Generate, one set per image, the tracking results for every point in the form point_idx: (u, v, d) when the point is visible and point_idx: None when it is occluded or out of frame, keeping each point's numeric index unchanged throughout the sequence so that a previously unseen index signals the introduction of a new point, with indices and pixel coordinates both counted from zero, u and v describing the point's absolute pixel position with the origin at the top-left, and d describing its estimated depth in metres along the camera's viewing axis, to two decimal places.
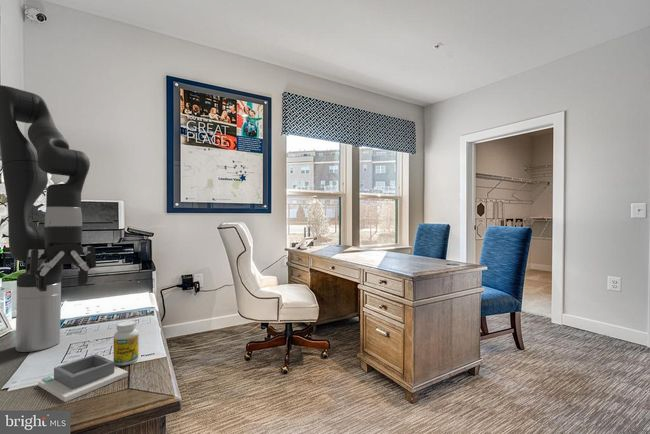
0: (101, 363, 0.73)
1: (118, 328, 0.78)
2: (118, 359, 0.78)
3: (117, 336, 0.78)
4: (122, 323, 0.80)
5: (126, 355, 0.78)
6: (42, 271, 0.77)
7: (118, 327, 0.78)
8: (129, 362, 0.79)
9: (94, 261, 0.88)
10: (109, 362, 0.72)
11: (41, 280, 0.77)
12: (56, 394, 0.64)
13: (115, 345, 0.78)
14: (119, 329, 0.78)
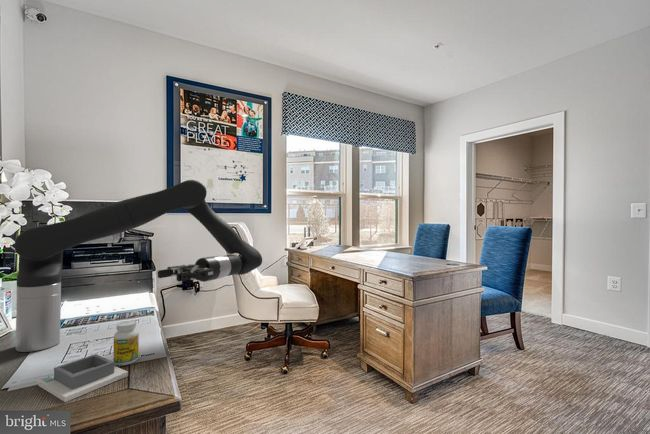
0: (101, 363, 0.73)
1: (118, 328, 0.78)
2: (118, 359, 0.78)
3: (117, 336, 0.78)
4: (122, 323, 0.80)
5: (126, 355, 0.78)
6: None
7: (118, 327, 0.78)
8: (129, 362, 0.79)
9: None
10: (109, 362, 0.72)
11: None
12: (56, 394, 0.64)
13: (115, 345, 0.78)
14: (119, 329, 0.78)
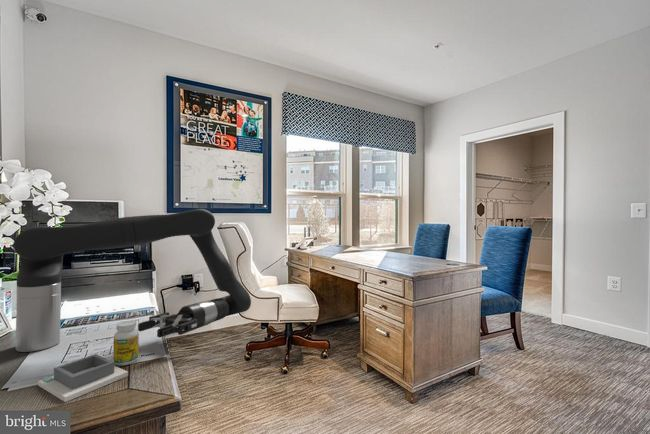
0: (101, 363, 0.73)
1: (118, 328, 0.78)
2: (118, 359, 0.78)
3: (117, 336, 0.78)
4: (122, 323, 0.80)
5: (126, 355, 0.78)
6: None
7: (118, 327, 0.78)
8: (129, 362, 0.79)
9: None
10: (109, 362, 0.72)
11: None
12: (56, 394, 0.64)
13: (115, 345, 0.78)
14: (119, 329, 0.78)
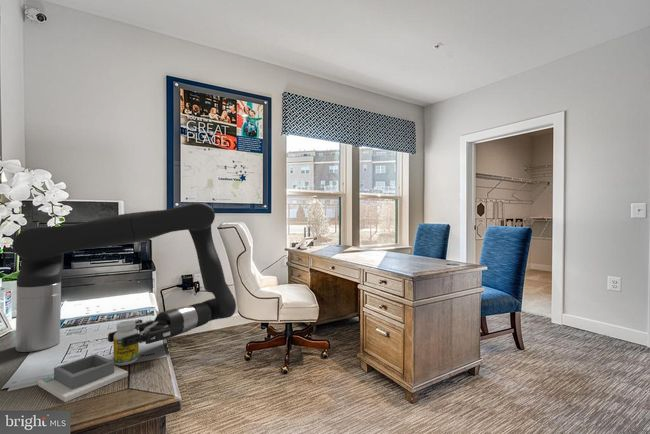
0: (101, 363, 0.73)
1: (118, 328, 0.78)
2: (118, 359, 0.78)
3: (117, 336, 0.78)
4: (122, 323, 0.80)
5: (126, 355, 0.78)
6: None
7: (118, 327, 0.78)
8: (129, 362, 0.79)
9: None
10: (109, 362, 0.72)
11: None
12: (56, 394, 0.64)
13: (115, 345, 0.78)
14: (119, 329, 0.78)
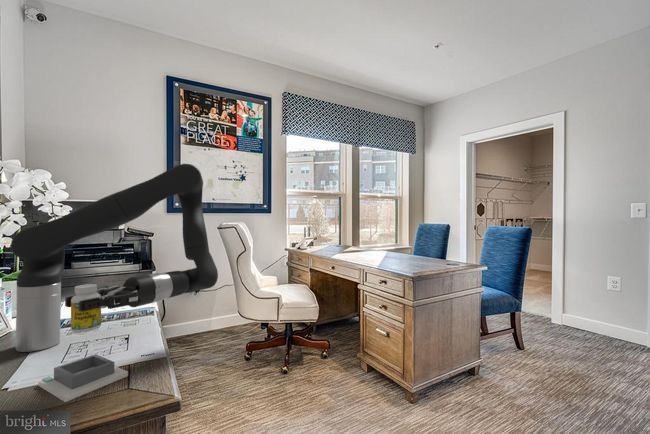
0: (101, 363, 0.73)
1: (76, 290, 0.69)
2: (76, 325, 0.68)
3: (74, 299, 0.68)
4: (81, 285, 0.70)
5: (85, 321, 0.69)
6: (106, 306, 0.71)
7: (76, 289, 0.69)
8: (89, 329, 0.69)
9: None
10: (109, 362, 0.72)
11: None
12: (56, 394, 0.64)
13: (72, 309, 0.68)
14: (77, 291, 0.69)
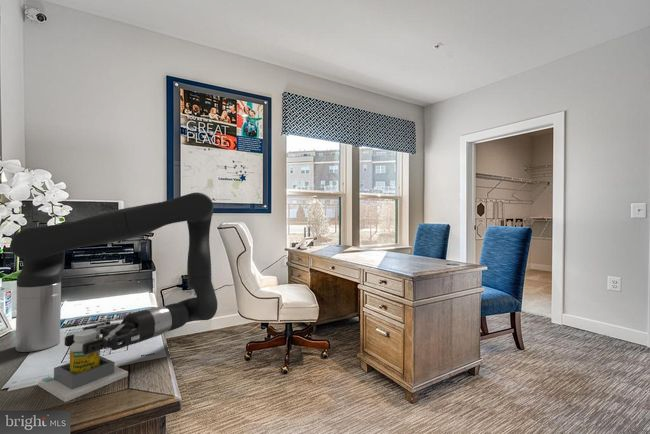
0: (101, 363, 0.73)
1: (75, 338, 0.69)
2: (74, 374, 0.68)
3: (73, 347, 0.68)
4: (80, 332, 0.71)
5: (84, 370, 0.69)
6: None
7: (75, 337, 0.69)
8: None
9: None
10: (109, 362, 0.72)
11: None
12: (56, 394, 0.64)
13: (71, 358, 0.68)
14: (76, 340, 0.69)
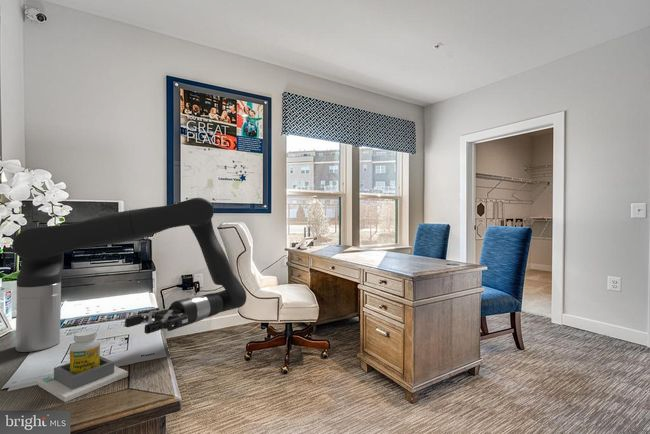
0: (101, 363, 0.73)
1: (75, 338, 0.69)
2: (74, 374, 0.68)
3: (73, 347, 0.68)
4: (80, 332, 0.71)
5: (84, 370, 0.69)
6: None
7: (75, 337, 0.69)
8: None
9: None
10: (109, 362, 0.72)
11: None
12: (56, 394, 0.64)
13: (71, 358, 0.68)
14: (76, 339, 0.69)
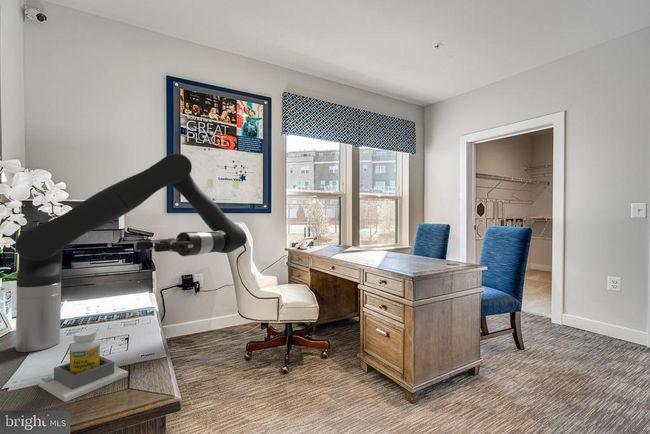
0: (101, 363, 0.73)
1: (75, 338, 0.69)
2: (74, 374, 0.68)
3: (73, 347, 0.68)
4: (80, 332, 0.71)
5: (84, 370, 0.69)
6: (172, 251, 0.90)
7: (75, 337, 0.69)
8: None
9: None
10: (109, 362, 0.72)
11: (165, 249, 0.89)
12: (56, 394, 0.64)
13: (71, 358, 0.68)
14: (76, 339, 0.69)
